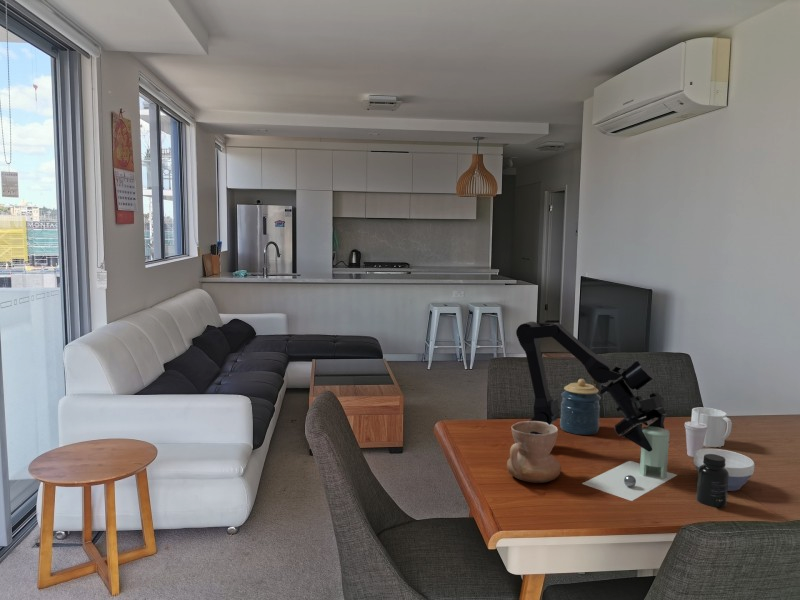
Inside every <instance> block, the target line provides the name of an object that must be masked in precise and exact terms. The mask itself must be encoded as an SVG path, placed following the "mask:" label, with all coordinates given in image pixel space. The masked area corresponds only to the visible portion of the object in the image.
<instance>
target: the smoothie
mask: <svg viewBox="0 0 800 600" xmlns="http://www.w3.org/2000/svg"><path fill="white" fill-rule="evenodd" d="M699 420H700V411H699V410H698V419H697V422H691V421H685V422H684V426H683V427H685V437H686V438H685V441H686V452H687V456H688V457H690V458H694V453H695V452H696V451H697V450H700V449H704V446H703V443H704V438H705V434H706V430H707V428H708V426H707V425H706V424H703V423H700V422H699Z"/></svg>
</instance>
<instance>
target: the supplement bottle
mask: <svg viewBox="0 0 800 600" xmlns="http://www.w3.org/2000/svg"><path fill="white" fill-rule="evenodd" d="M703 463H704V464H703V465H701V466H700V467H699V469H698V470H697V482H696V483H697V484H696V485H697V486H696V498H695V499H696V501H697V502H698V503H700V504H702V505H704V506H708V507H712V508H715V509H723V508H725V507H726V506H727V504H728V502H727V501H728V492H729V491H728V479H729V473H728V471H727V470H726V469H725V468H724V467H725V458H724V457H722V456H719V455H715V454H706V455H704V460H703Z"/></svg>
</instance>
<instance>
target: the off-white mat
mask: <svg viewBox="0 0 800 600" xmlns="http://www.w3.org/2000/svg"><path fill="white" fill-rule="evenodd" d="M628 475H631V476H633V477H634V478H635V479H636V484H635V486H633V487H628V486H626V485H625V483H624V478H625V477H626V476H628ZM677 476H678V474H676V473H673V472H669V471H667V476H666V478H664V479H662V478H660V477H661V473H660V472H657V471H651V470H647V471H646V476H643V475H641V474H640V462H635V461H632V460H628V461H625V462H623V463H622V464H620V465H618V466H617V465H616V467H613V468H611V469H609V470H607V471H605V472H603V473H601V474H598V475H597V476H594V477H593V478H589V480H586V481H585V482H582V483H581V484H582V485H584V486H588V487H589V488H593V489H596V490H598V491H601V492H604V493H607V494H610V495H612V496H616V497H619V498H622V499H625V500H627V501H631V502H633V501H635V500H636V499H638V498H640V497H641V496H644V495H645V494H647V493H649V492H651V491H652V490H654V489H656V488H657V487H659V486H661V485H663V484H664V483H666V482H668V481H670V480H672V479H673V478H675V477H677Z"/></svg>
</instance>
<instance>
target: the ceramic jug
mask: <svg viewBox="0 0 800 600" xmlns="http://www.w3.org/2000/svg"><path fill="white" fill-rule="evenodd" d="M510 430H511V433H512V438H513V440H514V443H513V444H511V447H510V449H509V458H508V459H507V461H506V469H507V471H508V473H510V476H512V477H514V478H516V479H518V480H519V481H524V482H527V483H533V484H543V483H545V484H546V483H549V482H552V481H553V480H556V479H557V478H559V475H560V474H561V471H562V466H561V463H560V462H559V460H558V459H557V458H556V457H554V456H553V455H551V454H550V453H551V452H552V450H553V448H554V445H555V444H556V441H557V437H558V433H559V430H558V427H557V426H556V425H554V424H553V423H552V424H551V425H549V424H548V423H545V422H540V421H530V420H527V421H526V420H524V421H518V422H516V423H514V424H513V425H511V429H510ZM533 431H534V432H538V433H541V434H536V435H535V434H531V433H530V432H533Z"/></svg>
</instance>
